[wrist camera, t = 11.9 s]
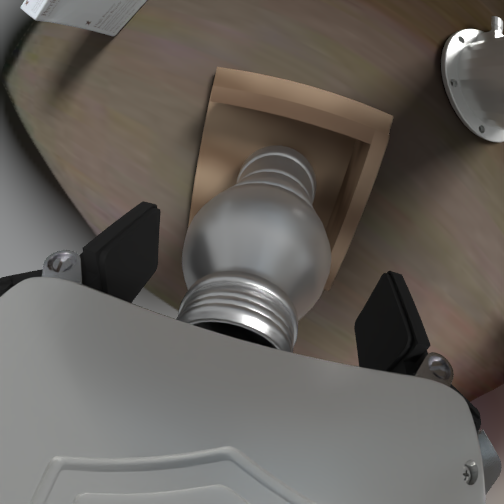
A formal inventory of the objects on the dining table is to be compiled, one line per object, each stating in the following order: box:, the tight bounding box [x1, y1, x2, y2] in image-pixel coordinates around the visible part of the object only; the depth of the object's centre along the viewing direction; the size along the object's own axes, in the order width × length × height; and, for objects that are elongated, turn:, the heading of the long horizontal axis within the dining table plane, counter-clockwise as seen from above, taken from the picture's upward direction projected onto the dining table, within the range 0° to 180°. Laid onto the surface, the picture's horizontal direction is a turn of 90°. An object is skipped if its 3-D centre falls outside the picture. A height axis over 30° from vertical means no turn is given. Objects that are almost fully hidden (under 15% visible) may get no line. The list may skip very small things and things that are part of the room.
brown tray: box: [188, 67, 394, 291], centre depth 23 cm, size 18×16×6 cm
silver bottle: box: [176, 146, 331, 353], centre depth 16 cm, size 6×7×20 cm
